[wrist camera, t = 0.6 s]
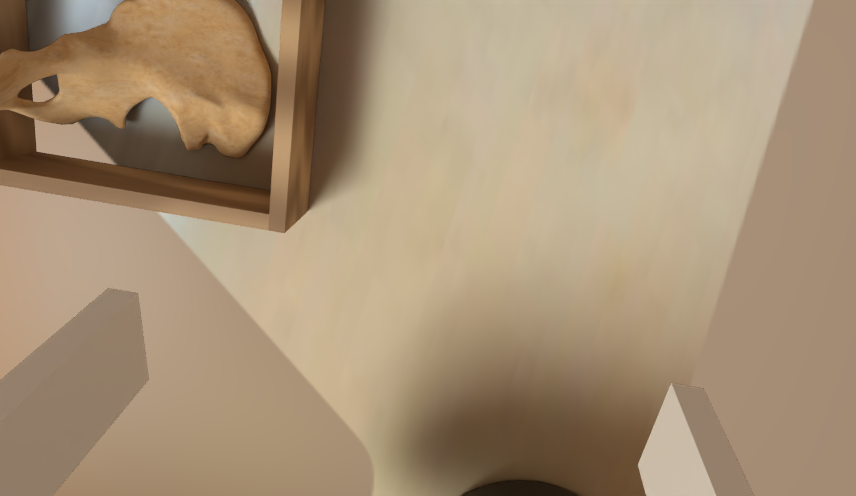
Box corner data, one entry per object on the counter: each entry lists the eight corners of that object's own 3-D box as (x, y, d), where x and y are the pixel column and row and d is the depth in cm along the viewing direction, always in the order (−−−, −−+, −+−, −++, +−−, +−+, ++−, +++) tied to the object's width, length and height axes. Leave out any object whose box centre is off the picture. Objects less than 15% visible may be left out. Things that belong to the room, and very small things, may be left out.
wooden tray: (307, 211, 40) (284, 233, 35) (23, 163, 40) (-37, 178, 35) (329, -47, 34) (306, -63, 30) (2, -98, 35) (-72, -121, 30)
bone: (14, -64, 34) (265, -41, 33) (97, 64, 43) (297, 84, 42) (-83, 68, 29) (210, 98, 28) (33, 182, 38) (259, 207, 37)
